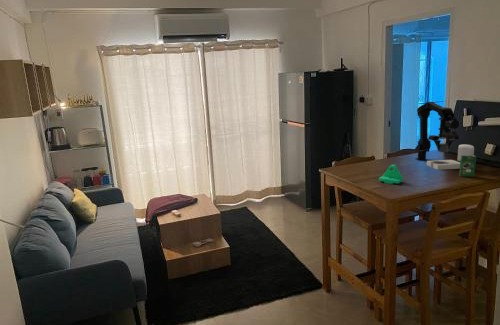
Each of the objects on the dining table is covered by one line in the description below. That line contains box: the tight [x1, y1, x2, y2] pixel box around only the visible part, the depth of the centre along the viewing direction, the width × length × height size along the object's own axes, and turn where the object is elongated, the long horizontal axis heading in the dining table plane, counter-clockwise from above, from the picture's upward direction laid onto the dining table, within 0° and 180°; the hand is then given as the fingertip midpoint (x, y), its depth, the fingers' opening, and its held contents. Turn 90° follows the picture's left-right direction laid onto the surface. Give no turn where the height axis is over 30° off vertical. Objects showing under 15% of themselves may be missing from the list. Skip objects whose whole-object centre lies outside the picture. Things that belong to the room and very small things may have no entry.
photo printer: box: [457, 143, 475, 162], centre depth 267 cm, size 10×4×12 cm, turn 39°
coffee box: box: [458, 155, 477, 178], centre depth 229 cm, size 8×3×13 cm, turn 77°
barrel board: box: [426, 159, 461, 171], centre depth 255 cm, size 14×18×3 cm
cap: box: [437, 142, 449, 153], centre depth 252 cm, size 6×6×5 cm
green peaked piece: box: [378, 164, 404, 185], centre depth 224 cm, size 12×8×10 cm, turn 50°
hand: (442, 149), depth 253 cm, fingers closed on cap, 6 cm apart
